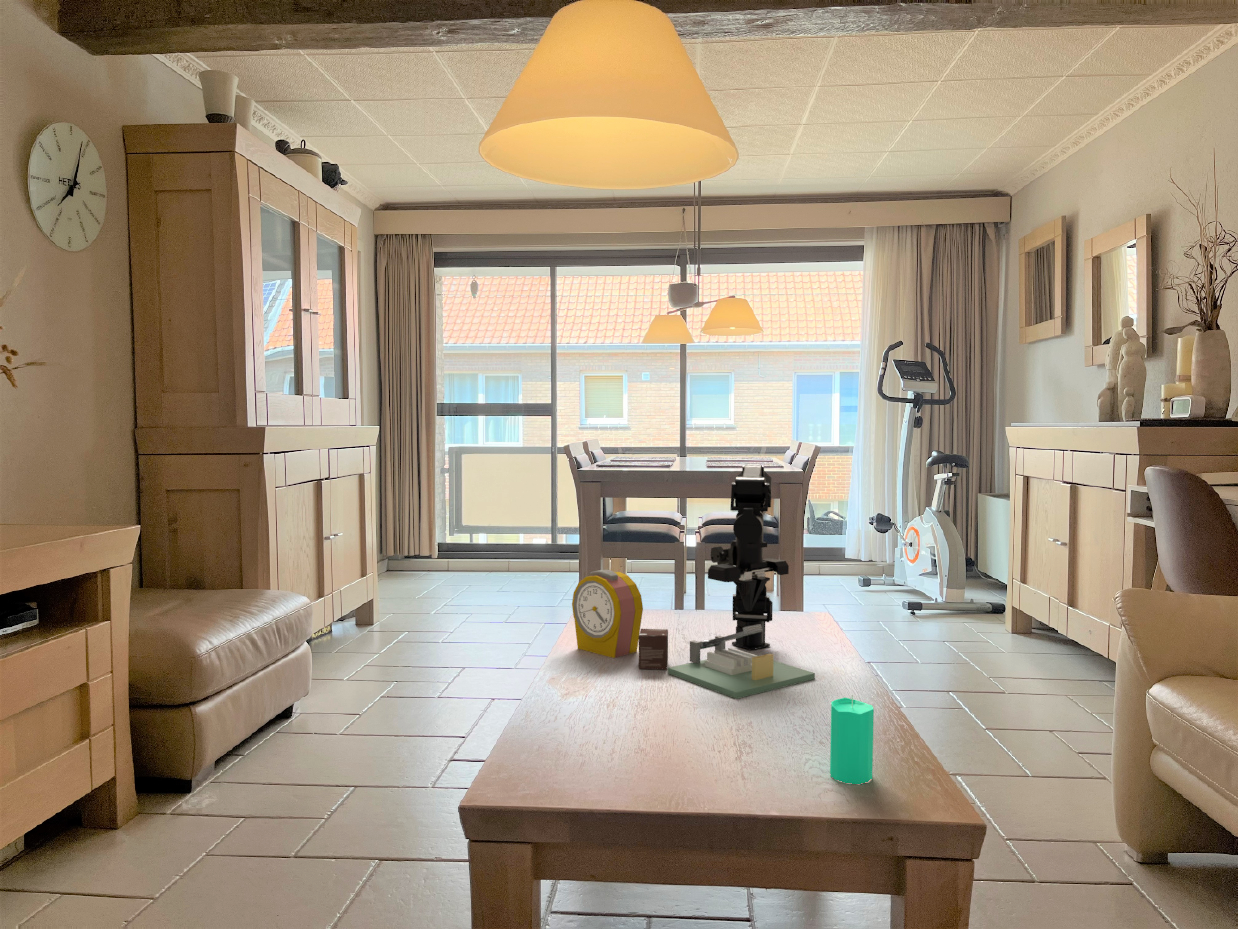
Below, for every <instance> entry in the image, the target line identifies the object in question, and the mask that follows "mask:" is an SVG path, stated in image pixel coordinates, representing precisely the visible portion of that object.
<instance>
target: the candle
mask: <svg viewBox="0 0 1238 929" xmlns="http://www.w3.org/2000/svg"><path fill="white" fill-rule="evenodd" d="M874 710H875V709H874V707H873V705H872V704H869V703H866V702H863V701H861V700H858V699H854V695H853V694H851V698H849V697H842V698H837V699H834V700H832V701H831V703H830V746H829V747H830V751H829V752H830V756H829V775H830V774H831V775H830V778H832V777H833V778H834V779H833V778H832V779H833V780H835V779H836V780H839V781H842V782H845V783H852V784H861V783H865V782H868V781H869V780H870V779H872V780H873V769H874V768H873V762H874V760H873V759H874V758H873V756H874V713H875V711H874ZM836 780H835V781H836ZM845 783H844V784H845Z"/></svg>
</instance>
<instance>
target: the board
mask: <svg viewBox="0 0 1238 929" xmlns="http://www.w3.org/2000/svg"><path fill="white" fill-rule="evenodd" d="M721 637H723V636H722V635H716V636H714V639H718V638H721ZM667 674H668V675H672V676H675V677H677V678H679V679H682V680H685V681H687V682H690V683H693V684H696V685H697V686H701V687H704V688H706V689H709V690H711V691H714V692H717V693H719V694H722V695H724V696H728V697H729V698H730V697H731V698H733V699H736V700H737V699H741V698H745V697H749V696H752V695H756V694H760V693H765V692H768V691H769V692H770V691H773V690H777V689H781V688H783V687H785V688H786V687H788V686H792V685H797V684H799V683H805V682H807V681H808V682H809V681H811V680H815V678H816V673H815V672H812V671H809V670H806V669H803V668H801V667H797V666H793V665H790V664H786V663H783V662H781V661H777V660H774V654H773V653H767V654H762V655H757V654H754V653H750V652H748V651H744V650H740V649H737V648H733V647H728V648H727V649H726V642H722V643H719V645H718V646H715V647H714V652H712V651H707V652H706V659H703V660H701V649H700V641H698V640H690V641H689V662H688V663H684V664H677V665H674V666H667Z"/></svg>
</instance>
